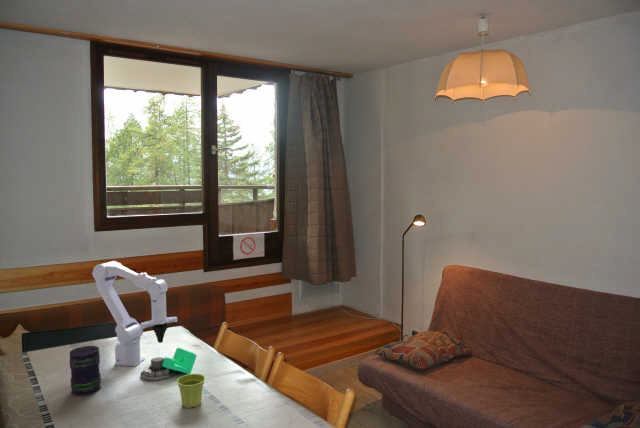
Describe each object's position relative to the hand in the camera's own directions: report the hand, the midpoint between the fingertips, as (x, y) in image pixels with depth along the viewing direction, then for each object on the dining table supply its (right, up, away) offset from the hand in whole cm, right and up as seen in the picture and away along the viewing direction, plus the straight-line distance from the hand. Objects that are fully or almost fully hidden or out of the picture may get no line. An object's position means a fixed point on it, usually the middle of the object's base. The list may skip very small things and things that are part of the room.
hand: (160, 342), depth 196 cm
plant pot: (+22, -12, -34) cm, 42 cm away
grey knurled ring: (+2, -11, -9) cm, 14 cm away
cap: (+2, -10, -9) cm, 13 cm away
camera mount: (+12, -7, -4) cm, 15 cm away
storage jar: (-20, -12, -22) cm, 32 cm away
